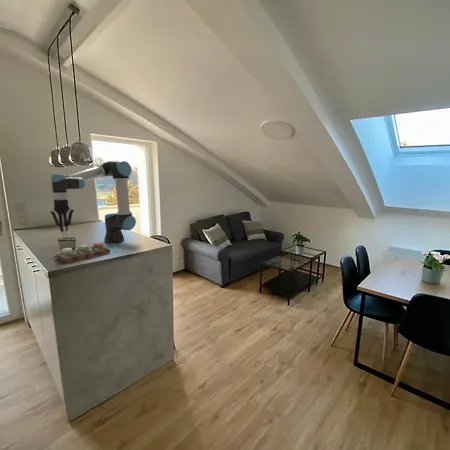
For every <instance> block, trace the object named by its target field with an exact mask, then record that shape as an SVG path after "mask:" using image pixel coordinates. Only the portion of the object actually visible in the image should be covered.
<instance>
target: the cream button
mask: <svg viewBox="0 0 450 450" xmlns="http://www.w3.org/2000/svg"><path fill="white" fill-rule="evenodd" d="M60 252H62V254H69V253H72V248H64V249H62V250H60Z"/></svg>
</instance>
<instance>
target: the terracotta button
mask: <svg viewBox="0 0 450 450" xmlns="http://www.w3.org/2000/svg"><path fill="white" fill-rule="evenodd" d="M103 245H104V243H103V242H102V241H97V242H94V243H93V244H92V246H94V248H98V247H103Z"/></svg>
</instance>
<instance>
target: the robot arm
mask: <svg viewBox="0 0 450 450" xmlns="http://www.w3.org/2000/svg"><path fill="white" fill-rule="evenodd" d="M131 174H132V166H131V165H130V163H129V162H127V161H126V160H122V159H121V160H109V161H106V162H103V163H100V164H96V166H95V167H91V168H88V169H83V170H81V171H78V172H75V173H72V174H69V175H66V174H65V173H64V174H63V173H62V174H61V173H53V174H51V175H50V177H51V178H50V181H51V188H52V196H53V197H52V198H53V206H54V207H53V210H50V211H49V213H50V215H51V216H52V218H53V221H54V223H55V225H56V227H59V230H60V232H61V233H62V234H61V235H62V238H66V237H68V236H67V235H68V234H67V232H68V230H69V229H68V227H69V226H70V225H71V224H72V223H71V222H72V216H73V213H74V209H71V208H70V206H69V200H68V190H81V189H84V188H85V186H86V184H85V183H86V182H87V181H88V182H89V181H91V180H95V179H97V178H104V177H112V179H113V180H114V182H115V191H116V202H117V212H114V213H113V212H112V213H106V214H105V215H104V224H105V226H104V227H105V235H104V238H103V239H104V243H107V244H115V243H121V242H123V240H124V241H125V237H124V234H123V232H122V230H123V231H131V230H133V229H134V227H136V223H137V220H136V219H137V218H136V217H135V216H133V212H132V211H130V210H131V208H130V198H129V187H128V180H129V179H130V176H131ZM56 213H57V215H56ZM67 213H68V214H67ZM67 215H68V216H67ZM57 216H58V217H57Z"/></svg>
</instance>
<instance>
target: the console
mask: <svg viewBox="0 0 450 450" xmlns="http://www.w3.org/2000/svg"><path fill="white" fill-rule="evenodd" d="M110 250H111V249H110V248H109V247H108V246H107V245H105V244H103V247H98V248H94V246H93V245H90V246H88V250H84V251H79V250H78V248H76V249H74V251H73V250H72V253H69V254H62V252H61V251H58V252H57V254H55V259H56V260H57V261H59V262H60V263H62V264H64V265H65V264H68V263H73V262H77V261H83V260H87V259H91V258H94V257H99V256H103V255H108V254H109V255H110V253H111V251H110Z"/></svg>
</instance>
